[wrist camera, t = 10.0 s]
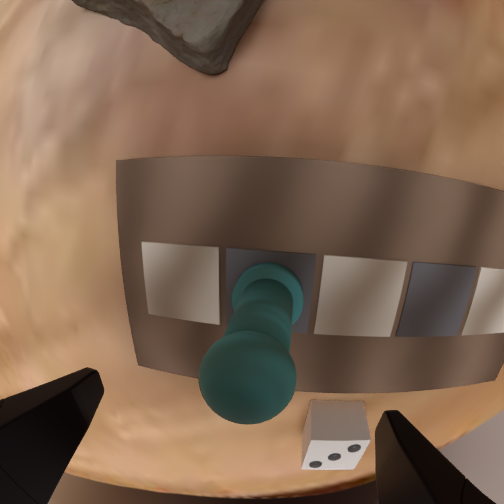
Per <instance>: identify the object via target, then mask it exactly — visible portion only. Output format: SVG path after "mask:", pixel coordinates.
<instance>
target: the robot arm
mask: <svg viewBox="0 0 504 504" xmlns="http://www.w3.org/2000/svg"><path fill="white" fill-rule="evenodd" d="M103 394H104V387H103V384H102V381H101V378H100V375H99V372H98V371H97V370H94V369H92V368H88V367H87V368H84V369H81V370H79V371H76V372H74V373H71V374H69V375H66V376H64V377H61V378H58V379H56V380H53V381H51V382H48V383H45V384H43V385H40V386H37V387H35V388H32V389H29V390H27V391H24V392H21V393H18V394H16V395H13V396H10V397H7V398H5V399H1V400H0V504H47V503H48V502H49V500H50V498H51V496H52V494H53V492H54V490H55V488H56V486H57V484H58V482H59V480H60V479H61V477H62V474H63V473H64V471H65V469H66V467H67V466H68V464H69V462H70V460H71V458H72V456H73V455H74V453H75V451H76V449H77V447H78V446H79V444H80V442H81V440H82V439H83V437H84V435H85V433H86V432H87V430H88V428H89V426H90V424H91V421H92V419H93V417H94V414H95V412H96V410H97V408H98V405H99V403H100V401H101V399H102V396H103ZM375 457H376V484H377V492H378V502H379V504H496V503H495V502H493V501H492V500H491V499H489V498H488V497H487V496H486V495H484V494H483V493H482V492H481V491H480V490H479V489H478V488H477V487H475V486H474V485H473V484H472V483H471V482H470V481H469V480H468V479H467V478H466V479H465V476H464V475H463V474H462V473H461V472H460V471H459V470H458V469H456V467H455V466H454V465H453V464H452V463H451V462H449V460H448V459H447V458H446V457H444V456H443V455H442V454H441V452H440V451H439V450H438V449H436V448H435V447H434V446H433V445H432V444H431V443H430V442H429V441H428V440H427V439H426V438H425V437H424V436H423V435H422V434H421V433H420V432H419V431H418V430H417V429H416V428H415V427H414V426H413V425H412V424H411V423H410V422H409V421H408V420H407V419H406V418H405V417H404V416H403V415H402V414H401V413H400V412H399V411H398V410H388V411H385V412H384V413H383V414H382V417H381V419H380V421H379V423H378V425H377V427H376V430H375Z"/></svg>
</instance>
